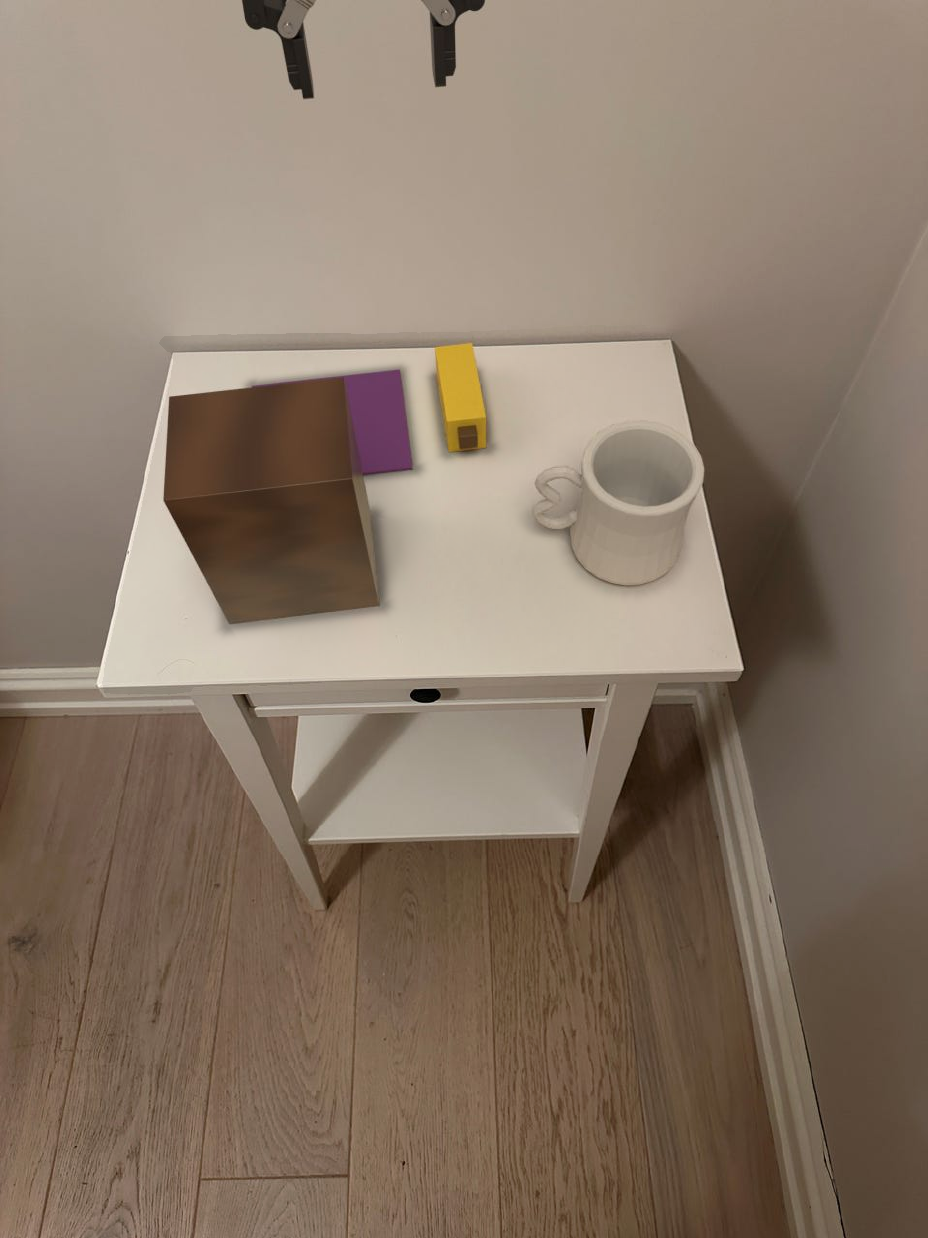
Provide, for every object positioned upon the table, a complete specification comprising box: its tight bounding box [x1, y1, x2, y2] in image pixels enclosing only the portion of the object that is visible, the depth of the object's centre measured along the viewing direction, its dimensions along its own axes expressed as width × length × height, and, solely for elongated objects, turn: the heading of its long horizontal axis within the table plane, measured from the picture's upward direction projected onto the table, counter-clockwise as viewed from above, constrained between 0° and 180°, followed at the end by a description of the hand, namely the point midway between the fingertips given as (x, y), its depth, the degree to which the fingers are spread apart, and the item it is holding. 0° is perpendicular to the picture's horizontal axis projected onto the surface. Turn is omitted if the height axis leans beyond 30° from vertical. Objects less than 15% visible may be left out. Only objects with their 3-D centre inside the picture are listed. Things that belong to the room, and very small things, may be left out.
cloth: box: [251, 368, 414, 476], centre depth 78 cm, size 14×12×1 cm
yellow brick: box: [434, 342, 487, 453], centre depth 77 cm, size 11×3×4 cm, turn 7°
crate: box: [162, 377, 380, 625], centre depth 64 cm, size 12×9×16 cm
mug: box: [531, 419, 706, 586], centre depth 67 cm, size 12×9×10 cm
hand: (373, 86), depth 56 cm, fingers open, 8 cm apart
